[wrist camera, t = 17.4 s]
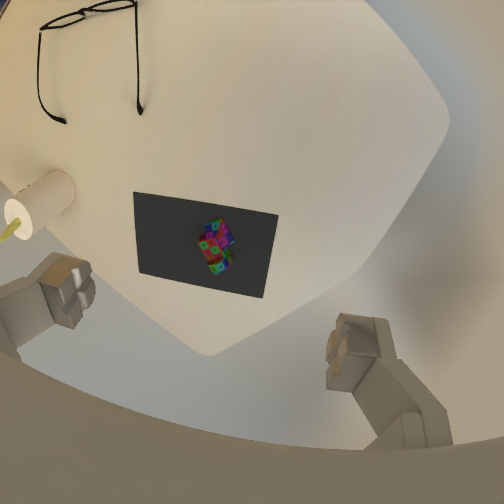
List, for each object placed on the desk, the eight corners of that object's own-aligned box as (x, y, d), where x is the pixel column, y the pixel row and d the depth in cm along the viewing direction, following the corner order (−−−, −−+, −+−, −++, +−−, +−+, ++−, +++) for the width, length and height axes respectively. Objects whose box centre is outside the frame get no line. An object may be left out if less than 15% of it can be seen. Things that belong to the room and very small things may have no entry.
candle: (53, 161, 39) (-16, 204, 27) (80, 187, 41) (14, 237, 29) (42, 189, 42) (-20, 235, 30) (67, 213, 44) (8, 265, 32)
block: (241, 254, 43) (237, 268, 41) (215, 261, 45) (210, 276, 42) (222, 217, 41) (216, 229, 38) (196, 226, 42) (188, 239, 39)
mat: (278, 215, 40) (278, 215, 40) (262, 298, 47) (262, 298, 47) (133, 191, 41) (133, 192, 41) (139, 272, 48) (139, 272, 48)
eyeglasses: (153, -4, 26) (137, -10, 22) (154, 114, 34) (139, 119, 31) (52, 26, 28) (34, 26, 24) (57, 125, 36) (40, 132, 33)
